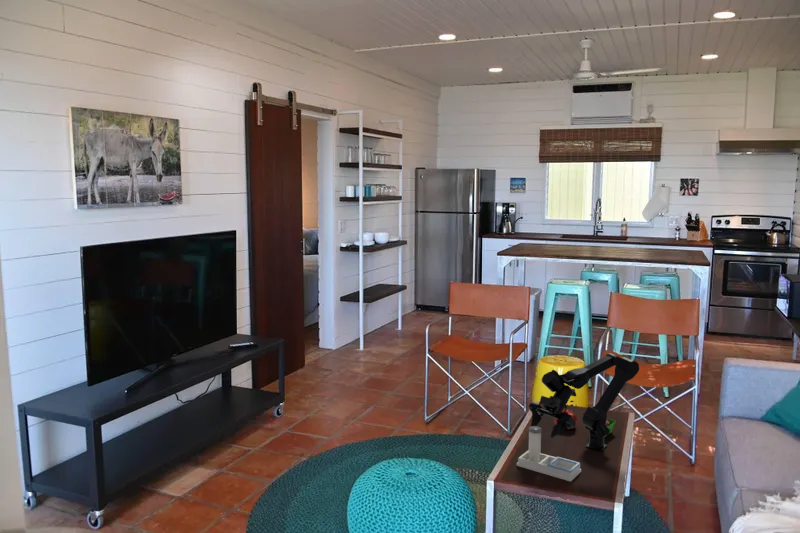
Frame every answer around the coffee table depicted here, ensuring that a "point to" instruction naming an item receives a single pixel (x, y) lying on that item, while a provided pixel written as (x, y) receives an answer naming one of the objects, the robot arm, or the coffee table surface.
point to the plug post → (534, 443)
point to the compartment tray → (551, 466)
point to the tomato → (570, 414)
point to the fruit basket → (609, 424)
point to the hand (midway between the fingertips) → (541, 433)
